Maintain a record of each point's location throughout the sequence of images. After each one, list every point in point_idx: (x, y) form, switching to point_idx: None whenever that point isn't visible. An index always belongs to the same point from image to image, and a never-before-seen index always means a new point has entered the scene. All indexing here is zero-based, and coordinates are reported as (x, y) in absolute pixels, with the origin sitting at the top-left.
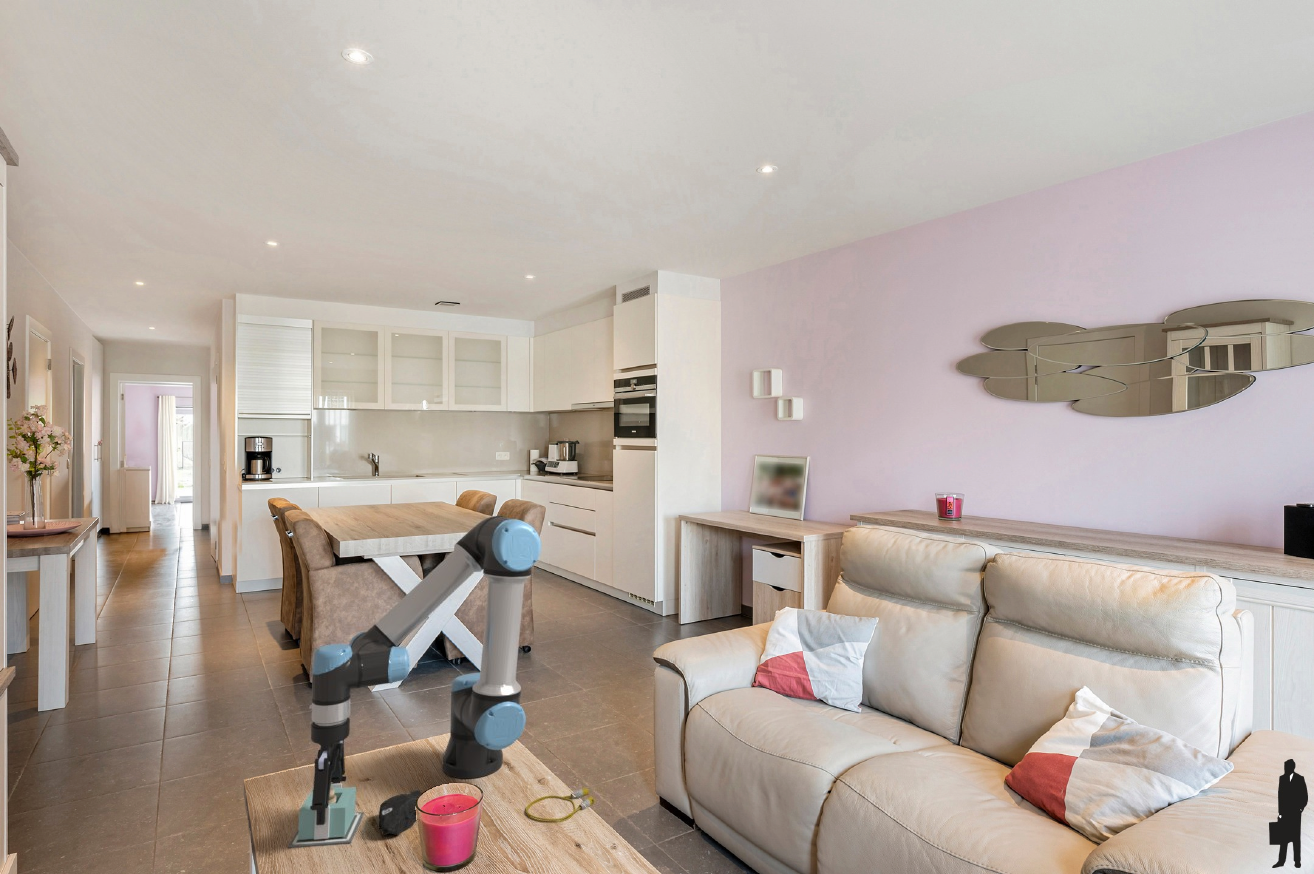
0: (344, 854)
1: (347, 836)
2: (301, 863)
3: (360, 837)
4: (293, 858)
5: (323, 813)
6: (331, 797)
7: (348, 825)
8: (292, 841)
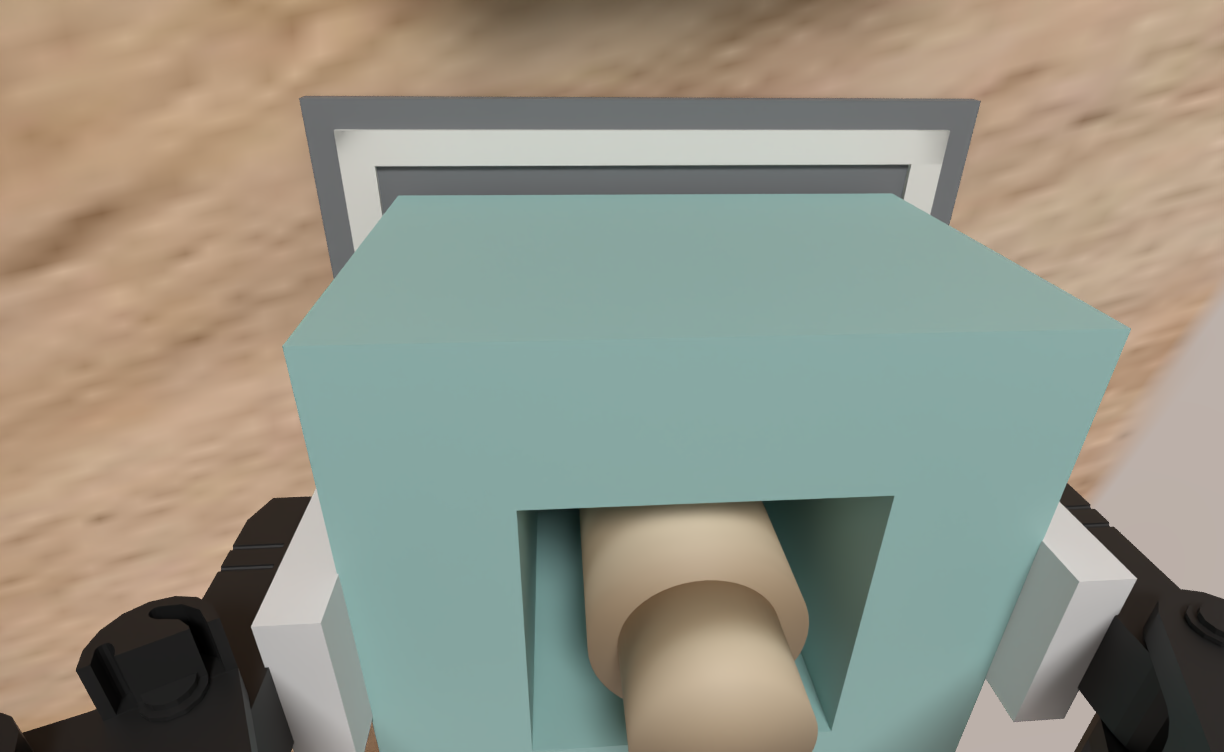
0: (1165, 112)
1: (852, 165)
2: (1119, 432)
3: (882, 6)
4: None
5: (1157, 571)
6: (776, 619)
7: (731, 202)
8: None
